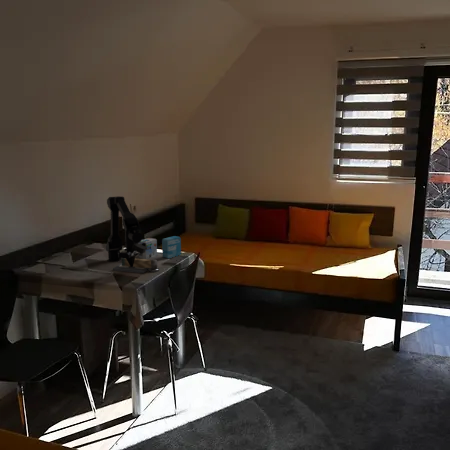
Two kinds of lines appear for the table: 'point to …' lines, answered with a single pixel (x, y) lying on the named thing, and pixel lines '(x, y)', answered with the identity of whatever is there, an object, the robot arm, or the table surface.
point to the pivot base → (153, 270)
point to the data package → (171, 247)
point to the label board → (130, 269)
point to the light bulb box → (149, 248)
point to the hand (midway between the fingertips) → (131, 266)
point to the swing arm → (141, 263)
